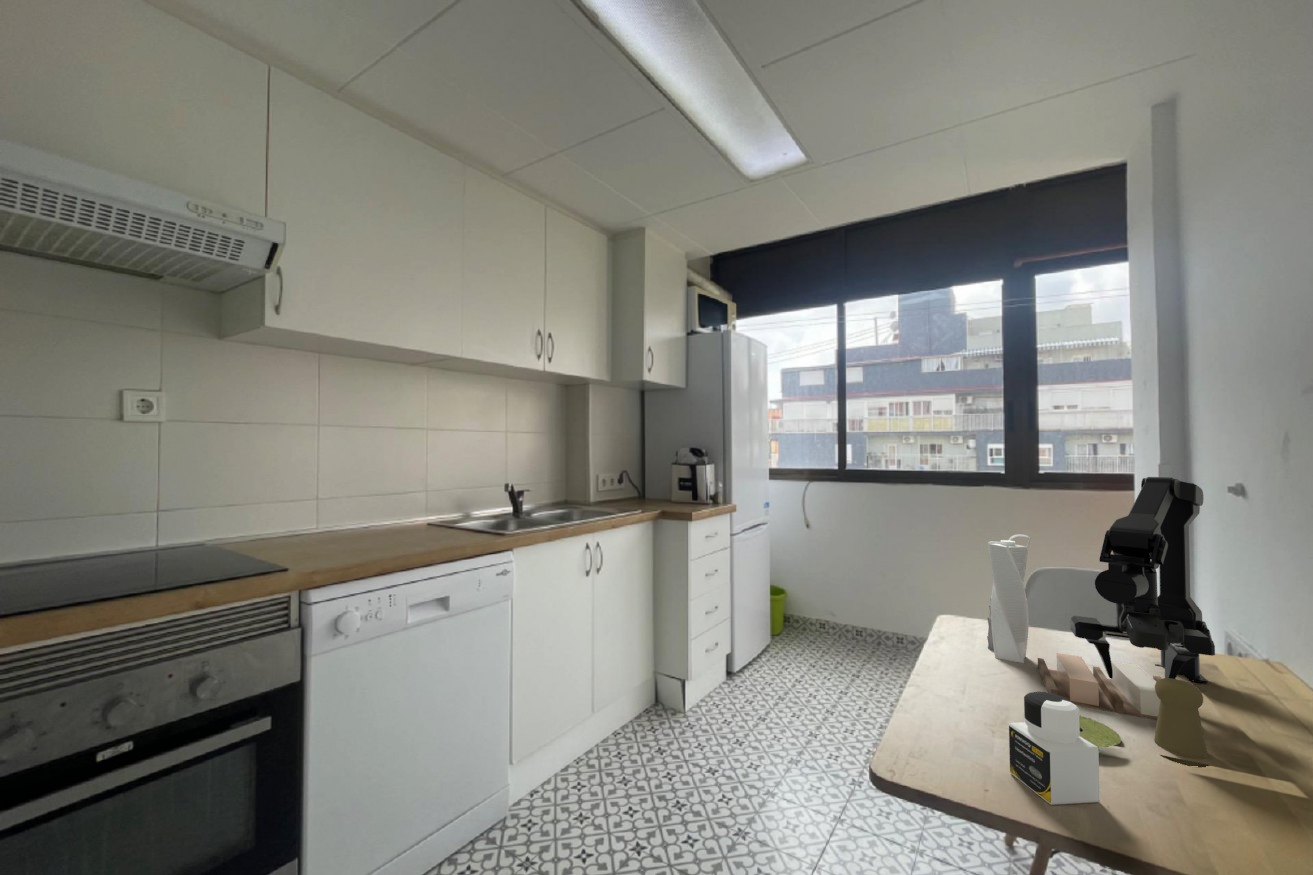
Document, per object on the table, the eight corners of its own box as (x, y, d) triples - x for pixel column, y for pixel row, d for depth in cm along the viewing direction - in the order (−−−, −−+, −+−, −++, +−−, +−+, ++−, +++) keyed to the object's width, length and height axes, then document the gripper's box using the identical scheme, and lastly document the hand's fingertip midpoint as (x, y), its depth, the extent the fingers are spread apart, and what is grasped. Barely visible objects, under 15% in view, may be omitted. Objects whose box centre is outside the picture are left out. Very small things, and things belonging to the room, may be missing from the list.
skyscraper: (1032, 659, 117) (1029, 532, 118) (1034, 672, 110) (1031, 537, 111) (987, 652, 121) (984, 530, 122) (987, 663, 114) (984, 534, 116)
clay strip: (1111, 682, 102) (1110, 661, 103) (1137, 685, 101) (1137, 664, 101) (1141, 713, 90) (1140, 690, 90) (1172, 718, 88) (1171, 694, 88)
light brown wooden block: (1057, 672, 107) (1056, 652, 107) (1082, 677, 105) (1081, 656, 105) (1070, 700, 95) (1069, 677, 95) (1098, 705, 93) (1098, 682, 93)
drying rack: (1038, 673, 110) (1037, 657, 110) (1160, 693, 100) (1160, 676, 100) (1051, 706, 95) (1050, 688, 95) (1196, 734, 85) (1195, 714, 86)
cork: (1221, 769, 76) (1218, 691, 76) (1172, 764, 77) (1169, 688, 77) (1188, 747, 82) (1185, 675, 82) (1143, 742, 83) (1140, 671, 83)
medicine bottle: (1008, 773, 75) (1006, 687, 75) (1055, 770, 75) (1053, 685, 76) (1050, 806, 68) (1047, 711, 68) (1101, 803, 68) (1098, 709, 69)
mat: (1015, 729, 87) (1015, 717, 87) (1057, 716, 91) (1057, 704, 91) (1094, 766, 77) (1094, 752, 77) (1137, 749, 81) (1137, 736, 81)
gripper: (1080, 598, 94) (1083, 688, 93) (1228, 614, 84) (1231, 713, 84) (1068, 585, 103) (1070, 666, 103) (1199, 598, 94) (1203, 686, 93)
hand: (1138, 682), depth 95 cm, fingers open, 8 cm apart
